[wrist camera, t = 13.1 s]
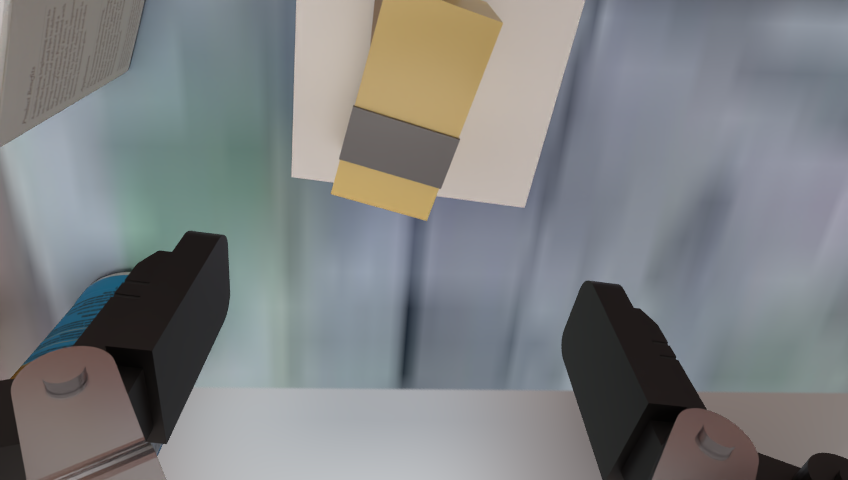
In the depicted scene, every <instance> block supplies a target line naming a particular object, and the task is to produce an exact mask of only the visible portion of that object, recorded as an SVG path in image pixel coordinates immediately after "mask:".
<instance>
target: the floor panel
mask: <svg viewBox="0 0 848 480" xmlns="http://www.w3.org/2000/svg"><path fill="white" fill-rule="evenodd" d="M481 1H484V2H487V3H488V4H489V6H490V7H491V8H492V9H493V11H494V12H495V13H496V14H497V16H498V17H499V18H500V19H501V21H502V22H503V25H502V27H501V30H500V33H499V35H498V38H497V40H496V43H495V46H494V48H493V51H492V53H491V56H490V59H489V61H488V64H487V66H486V69H485V71H484V74H483V77H482V79H481V82H480V84H479V87H478V90H477V92H476V95H475V97H474V100H473V102H472V105H471V108H470V110H469V113H468V115H467V118H466V121H465V123H464V126H463V128H462V131H461V134H460V136H459V138H460V141H459V144H458V147H457V149H456V152H455V154H454V157H453V159H452V162H451V165H450V167H449V170H448V172H447V175H446V177H445V180H444V183H443V185H442V188H441V189H439V190H438V193H437V196H439V197H447V198H455V199H462V200H470V201H477V202H485V203H493V204H500V205H508V206H515V207H523V208H525V204H526V201H527V198H528V194H529V191H530V187H531V184H532V180H533V177H534V174H535V170H536V167H537V163H538V160H539V157H540V153H541V150H542V146H543V143H544V140H545V136H546V133H547V129H548V126H549V122H550V119H551V116H552V112H553V109H554V105H555V102H556V99H557V95H558V92H559V88H560V85H561V82H562V78H563V75H564V71H565V68H566V64H567V61H568V58H569V54H570V51H571V47H572V44H573V41H574V37H575V34H576V30H577V27H578V24H579V20H580V17H581V13H582V10H583V6H584V3H585V0H481ZM382 2H383V0H296V33H295V69H294V105H293V141H292V177H295V178H303V179H311V180H318V181H326V182H333V183H334V180H335V176H336V173H337V169H338V165H339V162H340V159H339V157H340V153H341V149H342V146H343V142H344V138H345V134H346V131H347V127H348V123H349V119H350V116H351V112H352V108H353V105H355V102H356V98H357V95H358V91H359V87H360V83H361V80H362V76H363V72H364V69H365V65H366V61H367V57H368V54H369V50H370V46H371V42H372V39H373V35H374V31H375V28H376V24H377V20H378V16H379V13H380V9H381V5H382Z"/></svg>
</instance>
